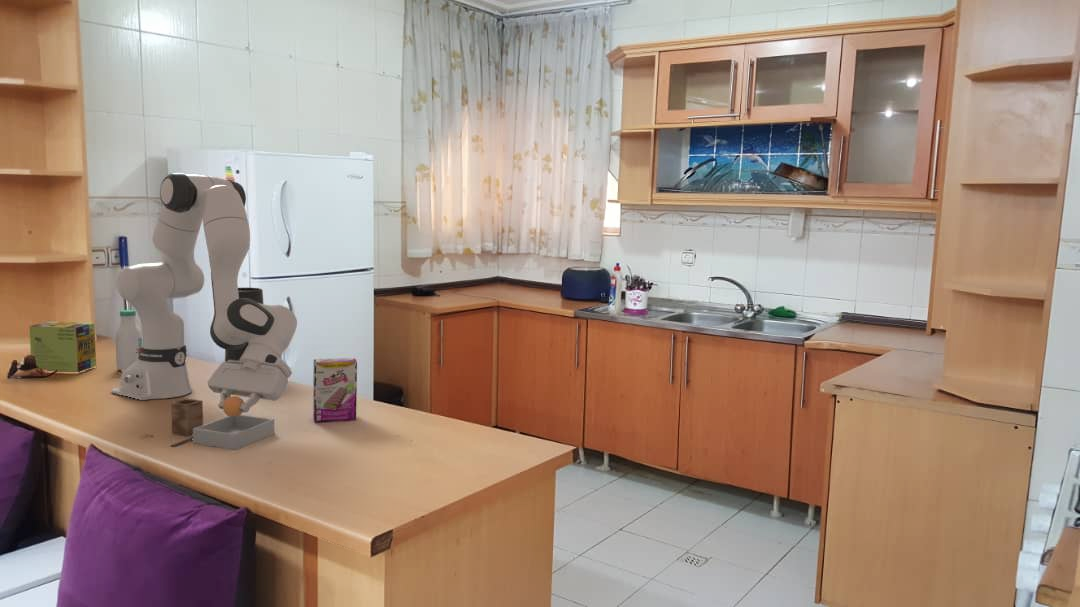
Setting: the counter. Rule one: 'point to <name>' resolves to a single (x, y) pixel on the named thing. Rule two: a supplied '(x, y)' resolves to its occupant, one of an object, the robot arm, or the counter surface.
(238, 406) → the ball
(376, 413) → the counter surface
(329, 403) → the candy bar box
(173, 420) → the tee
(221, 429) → the tray
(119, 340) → the milk bottle
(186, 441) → the line
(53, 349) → the protein box
